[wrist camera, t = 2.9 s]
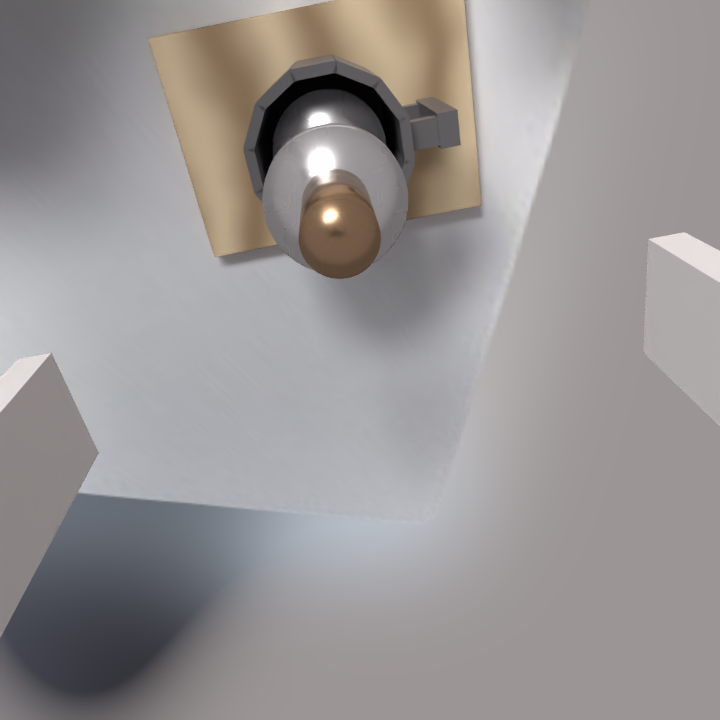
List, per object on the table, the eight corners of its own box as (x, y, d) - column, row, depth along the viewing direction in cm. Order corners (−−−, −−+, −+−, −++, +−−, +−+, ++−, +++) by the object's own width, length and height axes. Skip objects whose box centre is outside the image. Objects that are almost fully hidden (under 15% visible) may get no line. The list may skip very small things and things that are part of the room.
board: (216, 252, 51) (214, 256, 50) (152, 38, 44) (147, 38, 42) (478, 201, 50) (481, 205, 49) (458, -25, 43) (461, -26, 42)
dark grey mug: (279, 203, 48) (269, 251, 38) (247, 71, 44) (225, 82, 33) (436, 172, 48) (470, 212, 37) (420, 36, 43) (453, 36, 33)
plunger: (287, 214, 39) (266, 345, 23) (261, 100, 36) (213, 156, 19) (392, 193, 39) (449, 311, 22) (375, 77, 36) (426, 114, 19)
